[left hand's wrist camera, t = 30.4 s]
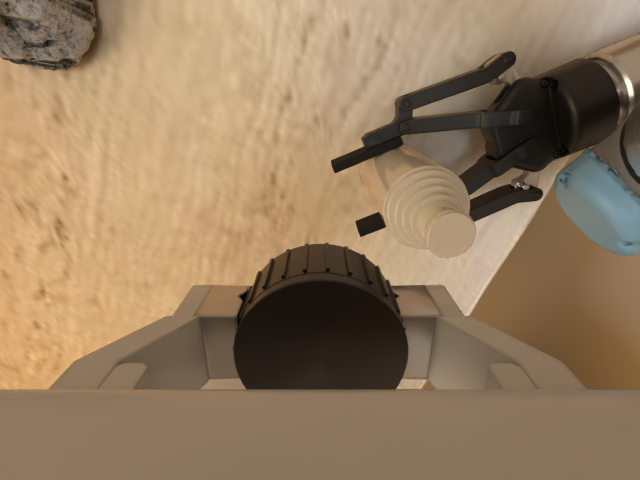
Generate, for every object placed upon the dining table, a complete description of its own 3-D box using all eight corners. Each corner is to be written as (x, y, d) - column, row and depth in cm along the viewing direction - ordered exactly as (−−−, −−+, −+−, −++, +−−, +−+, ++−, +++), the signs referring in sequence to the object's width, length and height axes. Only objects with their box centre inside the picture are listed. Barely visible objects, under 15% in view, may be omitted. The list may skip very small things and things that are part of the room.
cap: (242, 360, 11) (225, 417, 9) (252, 231, 9) (235, 265, 7) (378, 375, 11) (390, 434, 9) (408, 251, 9) (431, 289, 7)
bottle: (362, 135, 40) (409, 177, 19) (416, 141, 40) (519, 189, 20) (355, 189, 42) (390, 278, 21) (406, 194, 42) (489, 287, 22)
